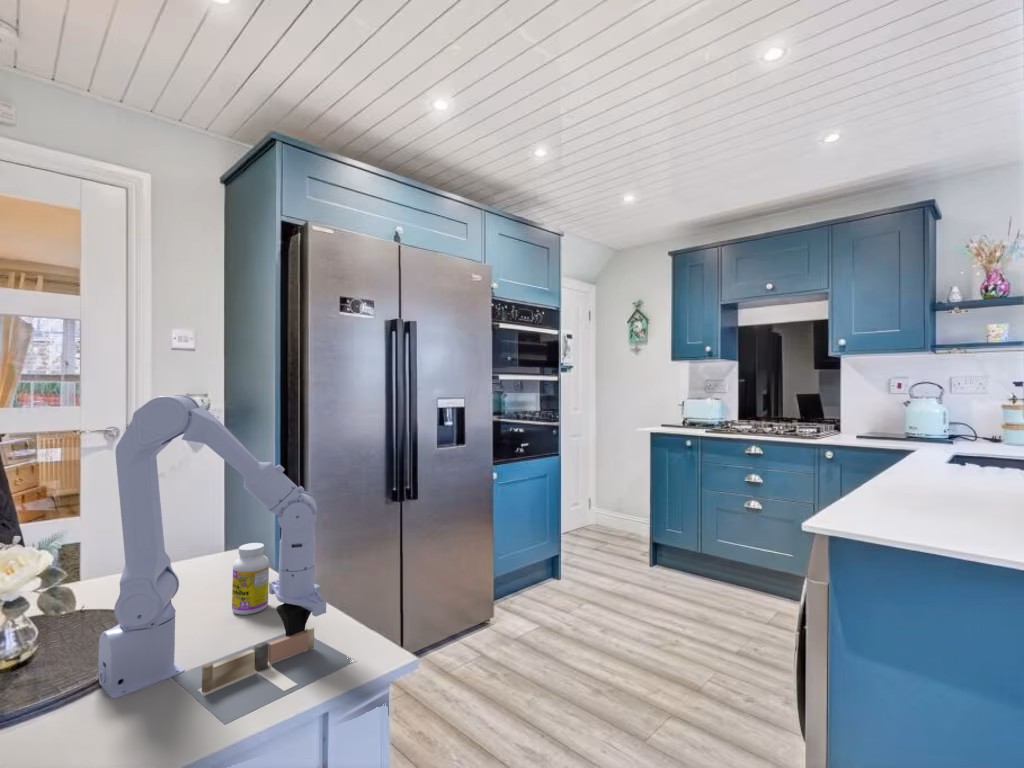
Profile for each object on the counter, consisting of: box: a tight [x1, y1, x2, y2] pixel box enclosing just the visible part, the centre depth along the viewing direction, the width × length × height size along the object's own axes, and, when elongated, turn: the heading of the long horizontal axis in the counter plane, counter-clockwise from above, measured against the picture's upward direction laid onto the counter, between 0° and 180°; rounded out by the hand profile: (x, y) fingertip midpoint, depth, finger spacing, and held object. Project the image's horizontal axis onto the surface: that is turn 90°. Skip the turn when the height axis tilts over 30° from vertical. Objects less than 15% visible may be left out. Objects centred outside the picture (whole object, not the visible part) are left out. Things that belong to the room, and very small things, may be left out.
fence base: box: [202, 641, 268, 692], centre depth 81 cm, size 10×2×4 cm, turn 143°
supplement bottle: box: [231, 542, 270, 616], centre depth 107 cm, size 7×7×13 cm
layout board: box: [171, 632, 355, 725], centre depth 84 cm, size 21×18×1 cm
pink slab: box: [268, 626, 315, 663], centre depth 88 cm, size 8×1×3 cm, turn 137°
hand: (295, 645), depth 89 cm, fingers closed, pressing on pink slab
